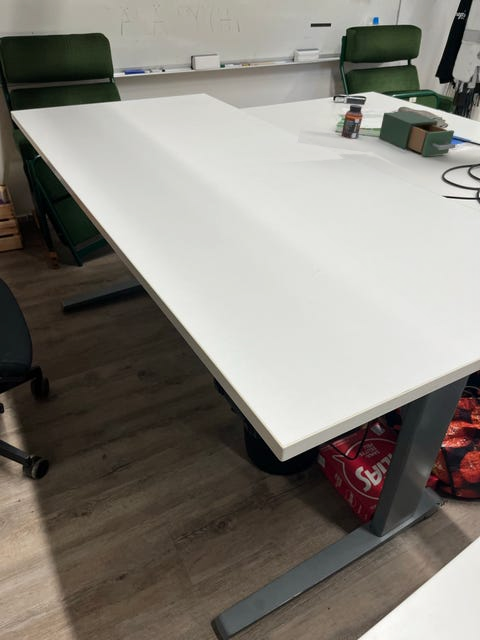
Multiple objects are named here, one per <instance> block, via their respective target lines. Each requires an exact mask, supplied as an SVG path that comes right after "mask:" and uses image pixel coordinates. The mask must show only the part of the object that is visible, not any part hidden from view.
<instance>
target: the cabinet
mask: <svg viewBox="0 0 480 640" xmlns="http://www.w3.org/2000/svg"><path fill="white" fill-rule="evenodd" d="M438 122H439V121H438V120H435V119H434V118H433V119H432V118H430V117H427V116H424V115H421V114H419V113H416V112H414V111H411V110H406V111H405V110H404V111H392V112H391V111H390V112H384V113H383V117H382V122H381V124H380V125H381V126H380V130H379V131H380V132H379V136H378V139H379V140H381V141H384V142H386V143H388V144H390V145H392V146H395V147H397V148H399V149H402V150H403V151H413V149H411V148H409V147H407V144H408V140H409V136H410V131H411V127H412V126H415V125H426V124H433V125H435V126H438Z"/></svg>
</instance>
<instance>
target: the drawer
mask: <svg viewBox="0 0 480 640" xmlns="http://www.w3.org/2000/svg"><path fill="white" fill-rule="evenodd" d="M427 131H431V132H427ZM454 134H455V130H453V129H451V130H448V129H447V128H443V127H440V126H438V125H437V126H435V125H433V124H426V125H415V126H412V127H411V131H410V136H409V140H408V144H407V147H409V148H411V149H413V150H414V151H415V152H418V153H420V154H421V156H422V157H429V156H430V157H431V156H438V155H446V154H447V155H448V154H449V151H450V150H452V149H456V144H455V143H452V140H453V137H454ZM413 150H412V151H413Z"/></svg>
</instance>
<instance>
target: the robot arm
mask: <svg viewBox="0 0 480 640" xmlns="http://www.w3.org/2000/svg"><path fill="white" fill-rule="evenodd" d="M452 77H453V82H454V83H455V87H454V90H455V91H454V95H453V99H452V101H451V105H452V106H454V107H464V106H465V104H466V99H467V97H468V93H469V92H470V90H471V89H475V88H476V83H477V84H479V83H480V0H472V2H471V6H470V9H469V13H468V16H467V20H466V24H465V28H464V32H463V36H462V39H461V45H460V48H459V50H458V53H457V56H456V59H455V63H454V66H453V70H452Z"/></svg>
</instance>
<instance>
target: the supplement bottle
mask: <svg viewBox="0 0 480 640" xmlns="http://www.w3.org/2000/svg"><path fill="white" fill-rule="evenodd" d="M362 108H363V106H362V105H359V104H350V105H349V110H347V111H346V112H345V115H344V121H343V125H342V130H341V137H343V138H345V139H350V140H357V139H358V138H359V135H360V134H359V133H360V129H361V125H362V121H363V113H362Z"/></svg>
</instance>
